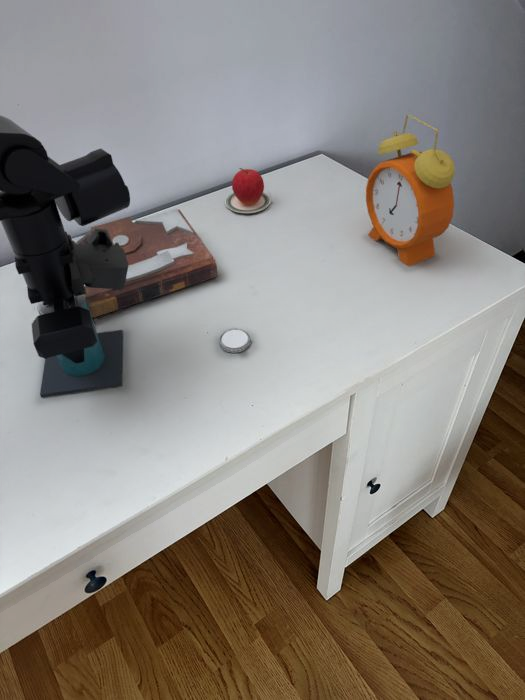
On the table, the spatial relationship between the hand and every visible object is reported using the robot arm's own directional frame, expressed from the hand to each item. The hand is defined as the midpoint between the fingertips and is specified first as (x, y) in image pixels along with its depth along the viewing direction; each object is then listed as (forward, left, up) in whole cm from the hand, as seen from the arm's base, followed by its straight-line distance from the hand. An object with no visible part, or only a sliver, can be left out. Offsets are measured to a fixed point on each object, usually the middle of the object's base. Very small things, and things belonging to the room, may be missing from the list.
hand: (76, 344), depth 72 cm
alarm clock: (+49, +17, -4) cm, 52 cm away
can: (0, 0, -3) cm, 3 cm away
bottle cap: (+20, 0, -4) cm, 20 cm away
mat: (0, 0, -4) cm, 4 cm away
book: (+6, +18, -4) cm, 19 cm away
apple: (+27, +35, -4) cm, 44 cm away
